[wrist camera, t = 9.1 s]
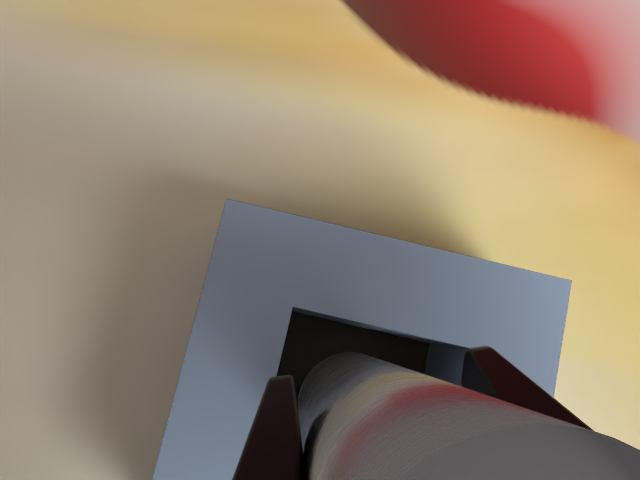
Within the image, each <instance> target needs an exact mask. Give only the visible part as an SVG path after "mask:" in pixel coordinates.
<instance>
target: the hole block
mask: <svg viewBox="0 0 640 480" xmlns="http://www.w3.org/2000/svg"><path fill="white" fill-rule="evenodd" d="M571 282H572V280H568V279H563V278H559V277H555V276H551V275H546V274H542V273H538V272H534V271H530V270H525V269H521V268H517V267H513V266H509V265H504V264H500V263H496V262H492V261H487V260H483V259H479V258H475V257H471V256H466V255H462V254H458V253H454V252H450V251H445V250H441V249H437V248H433V247H429V246H424V245H420V244H416V243H412V242H407V241H403V240H399V239H395V238H391V237H386V236H382V235H378V234H374V233H370V232H365V231H361V230H357V229H353V228H348V227H344V226H340V225H336V224H332V223H327V222H323V221H319V220H315V219H311V218H306V217H302V216H298V215H294V214H289V213H285V212H281V211H277V210H273V209H268V208H264V207H260V206H256V205H252V204H247V203H243V202H239V201H235V200H230V199H226V203H225V206H224V210H223V214H222V218H221V222H220V225H219V229H218V233H217V237H216V240H215V244H214V248H213V252H212V256H211V259H210V263H209V267H208V271H207V274H206V278H205V282H204V286H203V289H202V293H201V297H200V301H199V305H198V308H197V312H196V316H195V320H194V323H193V327H192V331H191V335H190V339H189V342H188V346H187V350H186V354H185V357H184V361H183V365H182V369H181V373H180V376H179V380H178V384H177V388H176V391H175V395H174V399H173V403H172V406H171V410H170V414H169V418H168V422H167V425H166V429H165V433H164V437H163V440H162V444H161V448H160V452H159V456H158V459H157V463H156V467H155V471H154V474H153V478H152V480H232V478H233V475H234V473H235V470H236V467H237V464H238V462H239V459H240V456H241V453H242V451H243V448H244V445H245V442H246V439H247V437H248V434H249V431H250V428H251V426H252V423H253V420H254V417H255V415H256V412H257V409H258V406H259V404H260V401H261V398H262V395H263V393H264V390H265V387H266V384H267V382H268V380H269V379H270V378H272V377H277V373H278V369H279V364H280V360H281V356H282V352H283V348H284V343H285V339H286V335H287V331H288V326H289V322H290V318H291V314H292V311H293V312H298V313H302V314H306V315H310V316H315V317H319V318H323V319H328V320H332V321H336V322H340V323H345V324H349V325H353V326H357V327H362V328H366V329H370V330H374V331H379V332H383V333H387V334H392V335H396V336H400V337H404V338H409V339H413V340H417V341H421V342H426V343H430V347H429V352H428V357H427V362H426V367H425V372H424V374H425V375H428V376H431V377H434V378H437V379H440V380H443V381H446V382H449V383H452V384H455V385H458V386H461V376H462V368H463V361H464V354H465V351H466V350H467V349H469V348H473V347H480V346H489V347H492V348H493V349H494V350H496V351H497V352H498V353H499V354H501V355H502V356H503V357H504V358H505V359H507V360H508V361H509V362H510V363H512V364H513V365H514V366H515V367H516V368H518V369H519V370H520V371H521V372H523V373H524V374H525V375H526V376H527V377H529V378H530V379H531V380H532V381H534V382H535V383H536V384H537V385H538V386H540V387H541V388H542V389H543V390H545V391H546V392H547V393H548V394H549V395H551V396H552V397H554V391H555V384H556V378H557V372H558V365H559V359H560V352H561V346H562V340H563V333H564V327H565V321H566V314H567V308H568V301H569V295H570V289H571ZM461 387H462V386H461Z"/></svg>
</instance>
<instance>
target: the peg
mask: <svg viewBox="0 0 640 480" xmlns="http://www.w3.org/2000/svg"><path fill="white" fill-rule="evenodd" d="M298 415H299V423H300V431H301V439H302V447H303V454H304V464H305V480H640V450H638V449H636V448H634V447H632V446H630V445H628V444H626V443H624V442H621V441H619V440H617V439H615V438H612V437H609V436H606V435H604V434H601V433H598V432H595V431H592V430H589V429H586V428H583V427H580V426H577V425H574V424H571V423H568V422H565V421H562V420H559V419H556V418H553V417H550V416H547V415H544V414H541V413H538V412H535V411H532V410H529V409H526V408H523V407H520V406H517V405H514V404H511V403H508V402H505V401H502V400H499V399H496V398H494V397H491V396H488V395H485V394H482V393H479V392H476V391H473V390H470V389H467V388H464V387H461V386H458V385H455V384H452V383H449V382H446V381H443V380H440V379H437V378H434V377H431V376H428V375H425V374H422V373H419V372H416V371H413V370H410V369H407V368H404V367H401V366H398V365H395V364H392V363H389V362H387V361H384V360H381V359H378V358H375V357H372V356H369V355H366V354H362V353H357V352H343V353H338V354H334V355H332V356H329V357H327V358H325V359H323V360H322V361H321V362H319V363H318V364H317V365H316V366H314V367H313V368H312V370H311V371H310V372H309V373H308V375H307V376H306V378H305V379H304V382H303V384H302V386H301V389H300V392H299V397H298Z"/></svg>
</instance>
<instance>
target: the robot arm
mask: <svg viewBox="0 0 640 480" xmlns="http://www.w3.org/2000/svg"><path fill="white" fill-rule="evenodd" d="M461 386H462V387H464V388H467V389H470V390H473V391H476V392H479V393H482V394H485V395H488V396H491V397H494V398H496V399H499V400H502V401H505V402H508V403H511V404H514V405H517V406H520V407H523V408H526V409H529V410H532V411H535V412H538V413H541V414H544V415H547V416H550V417H553V418H556V419H559V420H562V421H565V422H568V423H571V424H574V425H577V426H580V427H583V428H586V429H589V430H592V429H591V428H590V427H589V426H587V425H586V424H585V423H584V422H582V421H581V420H580V419H579V418H578V417H576V416H575V415H574V414H573V413H571V412H570V411H569V410H568V409H567V408H565V407H564V406H563V405H562V404H560V403H559V402H558V401H557V400H556V399H554V398H553V397H552V396H551V395H549V394H548V393H547V392H546V391H545V390H543V389H542V388H541V387H540V386H538V385H537V384H536V383H535V382H534V381H532V380H531V379H530V378H529V377H527V376H526V375H525V374H524V373H523V372H521V371H520V370H519V369H518V368H516V367H515V366H514V365H513V364H512V363H510V362H509V361H508V360H507V359H505V358H504V357H503V356H502V355H501V354H499V353H498V352H497V351H496V350H494V349H493V348H492V347H489V346H480V347H473V348H469V349H467V350H466V351H465V354H464V361H463V368H462V376H461ZM592 431H593V430H592ZM232 480H305V464H304V454H303V447H302V439H301V431H300V423H299V415H298V408H297V400H296V393H295V385H294V378H293V377H292V376H291V375H283V376H277V377H272V378H270V379H269V380H268V382H267V384H266V387H265V390H264V393H263V395H262V398H261V401H260V404H259V406H258V409H257V412H256V415H255V417H254V420H253V423H252V426H251V428H250V431H249V434H248V437H247V439H246V442H245V445H244V448H243V451H242V453H241V456H240V459H239V462H238V464H237V467H236V470H235V473H234V475H233V478H232Z"/></svg>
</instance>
